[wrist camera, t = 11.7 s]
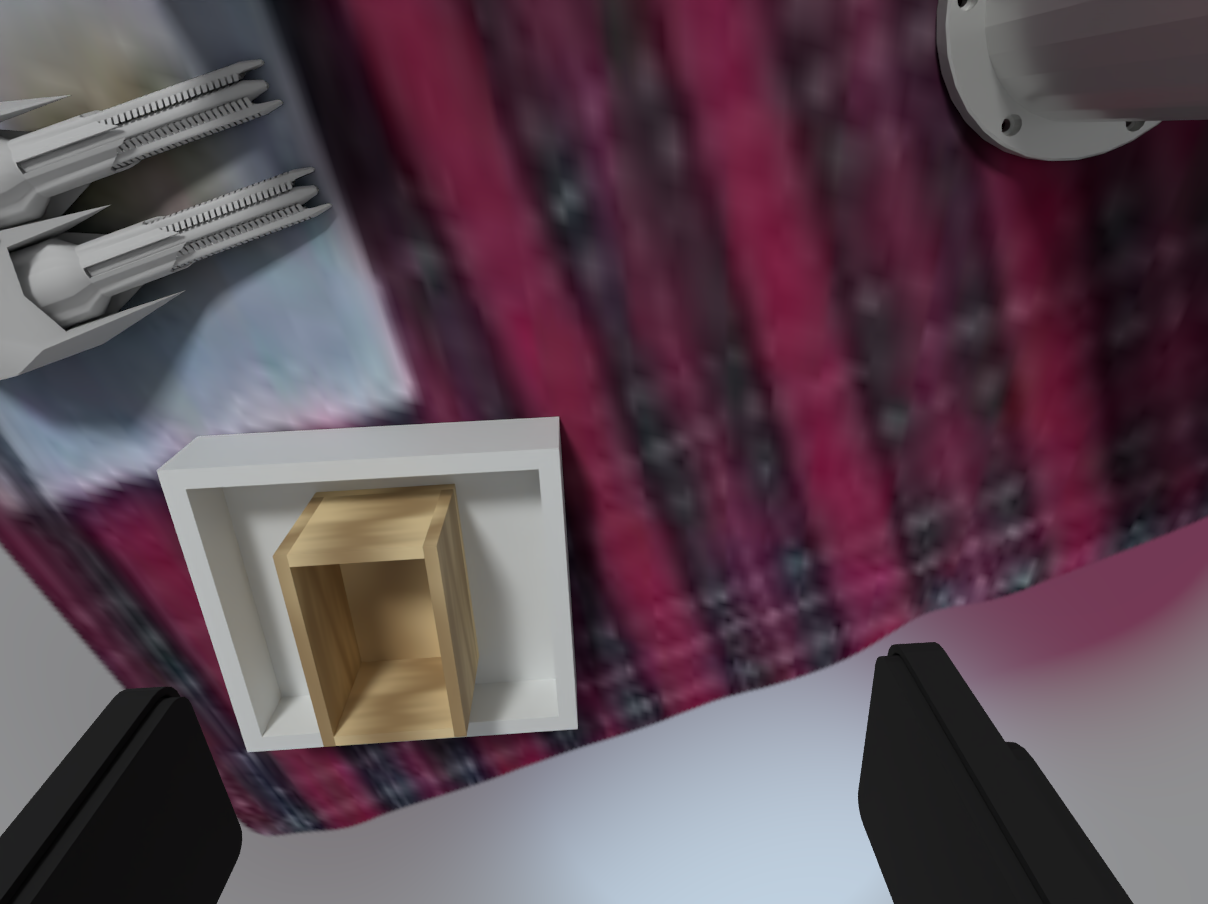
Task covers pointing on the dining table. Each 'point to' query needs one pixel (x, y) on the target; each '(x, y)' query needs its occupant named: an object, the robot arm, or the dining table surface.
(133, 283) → the turret
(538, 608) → the white tray
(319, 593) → the pine crate
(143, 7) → the dining table surface
